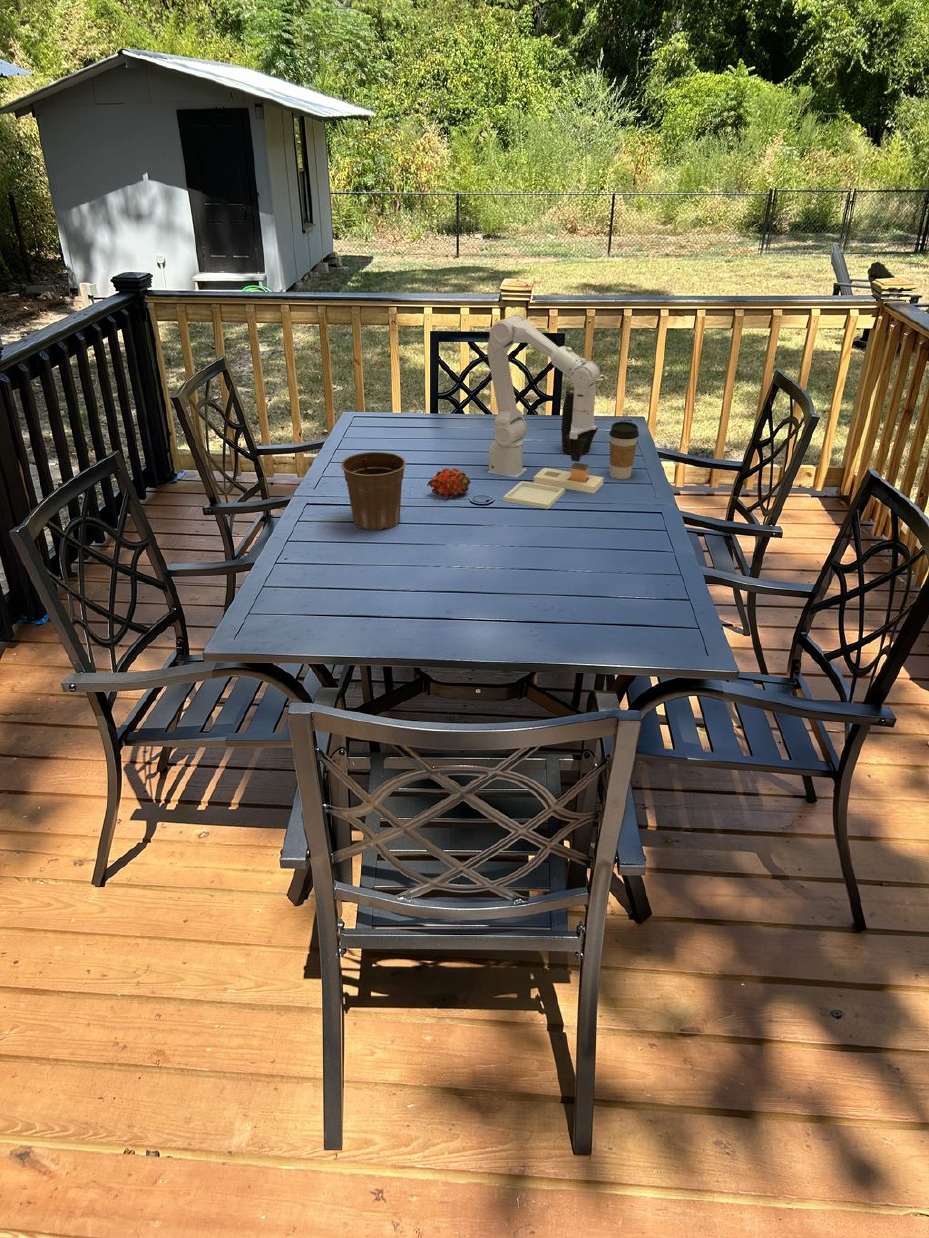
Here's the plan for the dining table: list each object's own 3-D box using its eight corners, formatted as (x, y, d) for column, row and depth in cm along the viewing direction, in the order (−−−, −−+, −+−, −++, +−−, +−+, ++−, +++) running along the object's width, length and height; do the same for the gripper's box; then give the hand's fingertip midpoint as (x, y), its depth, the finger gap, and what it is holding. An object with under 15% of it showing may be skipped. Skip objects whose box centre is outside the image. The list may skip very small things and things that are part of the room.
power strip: (533, 484, 258) (534, 476, 256) (543, 475, 264) (544, 467, 263) (593, 495, 251) (594, 486, 250) (602, 485, 257) (603, 477, 256)
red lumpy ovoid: (473, 502, 251) (431, 508, 252) (471, 476, 254) (429, 482, 255) (469, 486, 243) (425, 491, 244) (467, 459, 246) (424, 465, 247)
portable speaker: (554, 451, 282) (558, 389, 273) (575, 445, 288) (579, 383, 278) (575, 458, 277) (578, 395, 267) (595, 451, 282) (600, 389, 272)
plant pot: (398, 537, 227) (396, 476, 219) (336, 531, 230) (332, 471, 222) (414, 512, 241) (412, 454, 233) (356, 507, 243) (352, 449, 235)
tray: (503, 502, 246) (503, 496, 245) (521, 487, 256) (521, 481, 255) (547, 511, 241) (547, 504, 240) (564, 494, 251) (565, 488, 250)
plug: (570, 486, 256) (571, 465, 253) (573, 482, 258) (575, 462, 255) (583, 488, 254) (585, 468, 251) (587, 484, 256) (588, 464, 253)
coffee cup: (633, 471, 267) (638, 421, 260) (635, 481, 260) (640, 430, 253) (605, 470, 268) (609, 420, 261) (606, 480, 261) (610, 429, 253)
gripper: (588, 418, 238) (585, 467, 245) (606, 403, 249) (602, 450, 256) (563, 414, 241) (560, 463, 247) (581, 400, 252) (578, 447, 259)
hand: (580, 456), depth 252 cm, fingers open, 7 cm apart
